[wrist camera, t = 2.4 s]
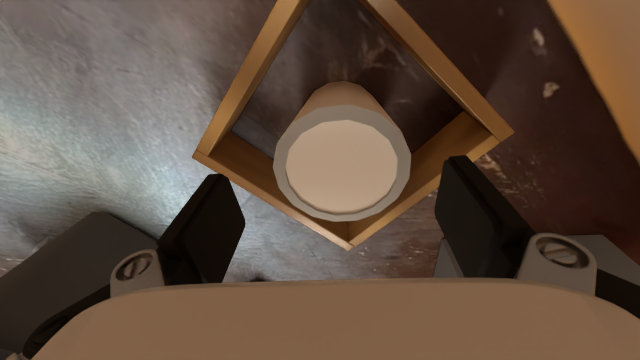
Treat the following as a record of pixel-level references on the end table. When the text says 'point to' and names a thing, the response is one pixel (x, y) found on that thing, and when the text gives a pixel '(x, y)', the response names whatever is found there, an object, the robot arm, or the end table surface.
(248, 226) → the end table surface
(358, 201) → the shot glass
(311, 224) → the wooden frame
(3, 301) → the storage bin
